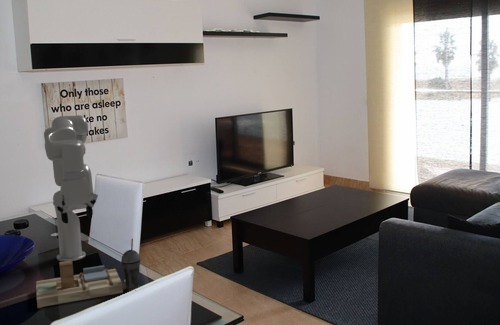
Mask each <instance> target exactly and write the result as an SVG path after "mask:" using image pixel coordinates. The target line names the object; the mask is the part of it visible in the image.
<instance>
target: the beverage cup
mask: <svg viewBox="0 0 500 325" xmlns="http://www.w3.org/2000/svg"><path fill="white" fill-rule="evenodd" d="M130 245H131V246H130V249H129V250H126V251H124V253H123V254H122V256H121V260H120V262H121V266H122V269H123V274H124V275H123V276H124V282H125V288H126V291H128V292H132V291H131V290H133V289H135V288H138V287H139V288H140V265H141V257H140V255H139V253H138V251H136V250H133V247H134V246H133V245H134V238H133V237H131V244H130Z"/></svg>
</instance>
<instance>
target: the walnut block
mask: <svg viewBox="0 0 500 325" xmlns="http://www.w3.org/2000/svg"><path fill="white" fill-rule="evenodd" d="M58 264H59V273H60V274H59V275H60V278H61V287H62V289H68V288H74V287H75V286H74V275H75V274H74V265H73V264H74V263H73V261H72V260H71V261H65V262H64V261H59V263H58Z"/></svg>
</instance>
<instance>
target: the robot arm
mask: <svg viewBox="0 0 500 325" xmlns="http://www.w3.org/2000/svg"><path fill="white" fill-rule="evenodd" d="M88 132H89V124H88V120H87V119H86V117H85V116H84V115H80V114H78V115H62V116H57V117H55V118H54V119H53V120H52V121H51V127H48V128H46V129H45V130H44V132H43V138H44V150H45V154H46V157H47V158H48V160H49V161H52V169H53V177H54V183H55V184H56V186H58V187H60V190H57V191H56V192H55V193H54V194H53V197H52V201H53V202H52V205H53V206H54V210H55V214H56V224H57V235H58V237H57V238H58V247H59V254H57V255H56V260H57V261H59V262H65V261H71V260H72V262H74V261H78V260H82V259H83V258H85V257H86V255H87V254H86V252H85V251H83V250H82V237H81V235H82V234H81V223H80V218H79V216H78V215H77V214H76V213H74V211H76V210H84V209H85V210H86V211H85V212H86V218H89V219H92V218H93V215H94V213H93V212H94V210H93V207H94V205H95V204H96V203H97V200H98V196H99V195H98V194H96V193H94V188H93V187H94V186H93V177H92V170H91V168H90V166H89V165H88V164H85V163H84V156H85V154H86V151H87V150H86V149H87V148H86V145H85V142H86V141H87V137H88Z"/></svg>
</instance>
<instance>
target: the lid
mask: <svg viewBox="0 0 500 325" xmlns="http://www.w3.org/2000/svg"><path fill="white" fill-rule="evenodd" d="M82 270H83V272H82V274H83V276H84V280H85V282H87V281H93V280H99V279H105V278H108V275H107V273H106V271H105V270H106V268H105V265H104V264H103V265H98V266H91V267H84V268H82Z"/></svg>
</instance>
